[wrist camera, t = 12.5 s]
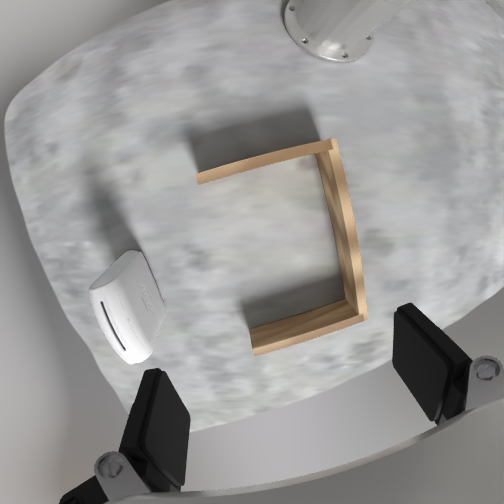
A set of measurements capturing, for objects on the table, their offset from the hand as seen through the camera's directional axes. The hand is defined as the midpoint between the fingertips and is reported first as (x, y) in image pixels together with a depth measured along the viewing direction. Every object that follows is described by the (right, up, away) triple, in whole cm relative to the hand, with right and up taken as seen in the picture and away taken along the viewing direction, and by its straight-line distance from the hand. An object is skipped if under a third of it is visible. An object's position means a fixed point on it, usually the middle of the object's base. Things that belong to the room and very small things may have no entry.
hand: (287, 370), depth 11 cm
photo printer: (-16, 0, +27) cm, 31 cm away
